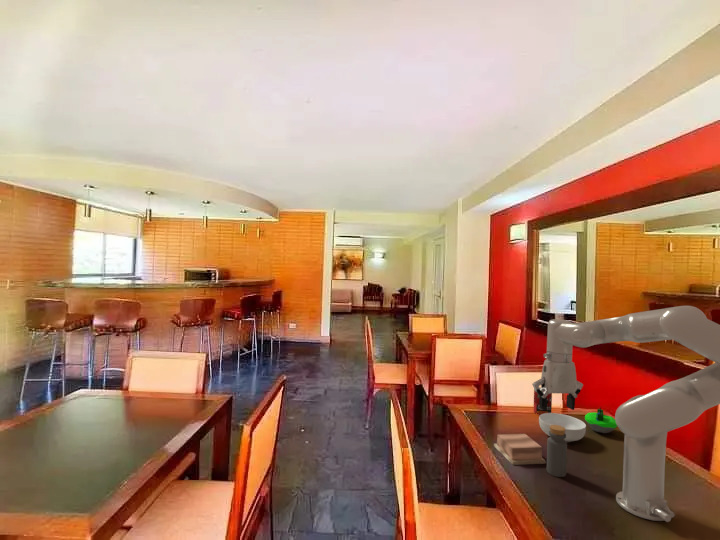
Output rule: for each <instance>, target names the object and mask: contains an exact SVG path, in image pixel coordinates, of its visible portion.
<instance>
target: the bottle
mask: <svg viewBox="0 0 720 540" xmlns="http://www.w3.org/2000/svg"><path fill="white" fill-rule="evenodd" d="M565 430H566V429H565V428H564V427H562V426H559V425H550V431H549V435H550V436H549V435H548V436H549V437H547V439H546V440H547V441H546V445H547V446H546V472H547V474H549V475H551V476H553V477H559V478H564V477H566V475H567V461H568V460H567V458H568V442H566V441H565V440H564V439H565V438H566V434H565Z"/></svg>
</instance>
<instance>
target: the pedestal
mask: <svg viewBox="0 0 720 540" xmlns="http://www.w3.org/2000/svg"><path fill="white" fill-rule="evenodd" d="M496 436H497V437H496V439H497V440H496V443H493V447H494V448H495V449H496V450H497V451H498V452H500V454H501V455H502V456H503V457H505V459H506V460H507V461H509V463H510V464H511V465H512V466H513V465H515V466H519V465H543V464H547V460H545V459H544V458H543V446H541V445H540V444H539V443H537V441H535V440H534V439H532V438H531V437H530V436H528V435H527V434H526V433H510V434H509V433H506V434H497V435H496Z"/></svg>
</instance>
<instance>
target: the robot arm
mask: <svg viewBox="0 0 720 540" xmlns="http://www.w3.org/2000/svg"><path fill="white" fill-rule="evenodd" d="M669 340H673V341H674V342H676V343H678V344H680V345H682V346H684V347H685V348H687V349H689V350H691V351H693V352H695V353H697V354H699V355H701V356H702V357H705V358H706V359H708V360H710V361H712V362H714V363H712V364H710V365H708V366H706V367H704V368H702V369H699V370H698V371H696V372H692V373H691V374H689V375H686V376H684V377H681V378H679V379H676V380H672V381H670V382H669V381H668V382H666V383H665V384H663V385H662V386H660V387H659V388H657V389H655V390H652V391H650V392H648V393H646V394H638V395H636V396H632V397H631V398H630V399H628V400H627V401H625V402H623V403H622V404H620V405H619V406H618V407H617V409H616V411H615V415H614V419H615V421H616V424H617V428H618V429H619V430H620V431H621V432H622V433H623V434H624V441H623V467H622V470H623V472H622V491H619V492H617V493H616V495H615V501H616V503H617V504H618V505H619V506H620V507H621V508H622V509H623V510H625V511H626V512H628V513H630V514H631V515H634V516H636V517H639V518H642V519H644V520H645V519H646V520H650V521H653V522H655V521H657V522H662V521H665V522H666V523H669V522H671V520H672V518H675V515H676V513H675V512H673V511H672V510H670V508H669V507H668V500H666V499H665V471H666V450H667V449H666V447H667V437H668V432H671V431H674V430H675V429H679V428H681V427H685V426H687V425H689V424H690V423H693V422H694V421H696V420H697V419H699V417H700V416H701V415H702V414H703V413H704V412H705V411H707V410H709V409H711V408H713V407H715V406H718V405H720V324H719V323H717V322H715V321H712V320H711V319H708V318H707V316H706V314H705V313H704V312H703V311H702V310H701V309H699V308H698V307H696V306H693V305H679V306H673V307H672V306H671V307H665V308H661V309H660V308H659V309H653V310H652V309H651V310H646V311H639V312H633V313H628V314H626V315H623V316H617V317H610V318H604V319H596V320H590V321H583V322H576V323H575V322H574V323H573V322H572V321H570V320H566V319H560V318H559V319H557V318H555V319H554V318H553V319H550V320H549V321H548V323H547V337H546V353H543V358H544V359H545V360H544V362H543V365H542V369H541V370H542V371H541V378H539V379H537V380H536V381H534V382H533V383H532V386H533V390H534V389H535V391H536V393H537V394H538V395H539V406H540V408H542V409H543V410H547V398H546V396H547V395H548V394H549V393H552V394H567V395H566V404H565V405H566V408H568V409H570V410H572V411H575V408H576V398H578V395H579V394H580V393H581V390H582V389H583V387H584V384H583V383H582V382H580V381H578V380H577V372H576V365H575V362H573V347H574V346H575V347H577V348H588V347H591V346H594V345H595V346H596V345H600V344H607V343H608V344H609V343H615V342H616V343H618V342H633V343H637V344H638V343H639V344H641V343H649V342H660V341H662V342H663V341H669ZM539 387H541V390H540V389H539Z"/></svg>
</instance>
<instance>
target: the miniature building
mask: <svg viewBox="0 0 720 540" xmlns="http://www.w3.org/2000/svg"><path fill="white" fill-rule="evenodd" d="M596 410H597V411H596V412H592V411H591V412H587V413H586V414H585V416H584V420H585V421H586V423H587V425H588V426H589V427H590V428H591V429H592V430H593V431H594V432H597V433H600V434H609V433H611V432H613V431H615V429H616V428H618V426H617V424H616V421H615V417H612V416H610V415H607V414H604V409H601V407H599V408H597V409H596Z"/></svg>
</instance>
